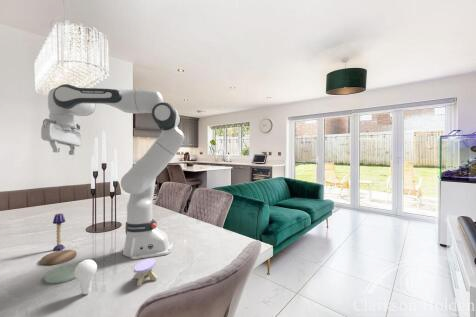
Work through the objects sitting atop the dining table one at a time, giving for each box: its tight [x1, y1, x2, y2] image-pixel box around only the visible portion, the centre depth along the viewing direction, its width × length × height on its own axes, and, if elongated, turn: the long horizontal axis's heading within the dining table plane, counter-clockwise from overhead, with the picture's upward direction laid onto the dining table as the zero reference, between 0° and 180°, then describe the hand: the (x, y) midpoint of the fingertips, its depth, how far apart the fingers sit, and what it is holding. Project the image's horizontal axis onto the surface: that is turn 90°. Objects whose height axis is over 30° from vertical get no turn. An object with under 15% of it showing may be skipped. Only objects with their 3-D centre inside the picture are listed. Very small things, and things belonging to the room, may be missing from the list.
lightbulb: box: [74, 259, 98, 295], centre depth 72 cm, size 6×6×11 cm
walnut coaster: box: [40, 249, 77, 266], centre depth 96 cm, size 12×12×1 cm
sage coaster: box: [44, 263, 79, 285], centre depth 83 cm, size 12×12×1 cm
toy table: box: [133, 257, 158, 287], centre depth 81 cm, size 10×9×6 cm
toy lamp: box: [52, 213, 66, 252], centre depth 106 cm, size 5×5×17 cm
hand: (64, 153), depth 100 cm, fingers open, 8 cm apart
